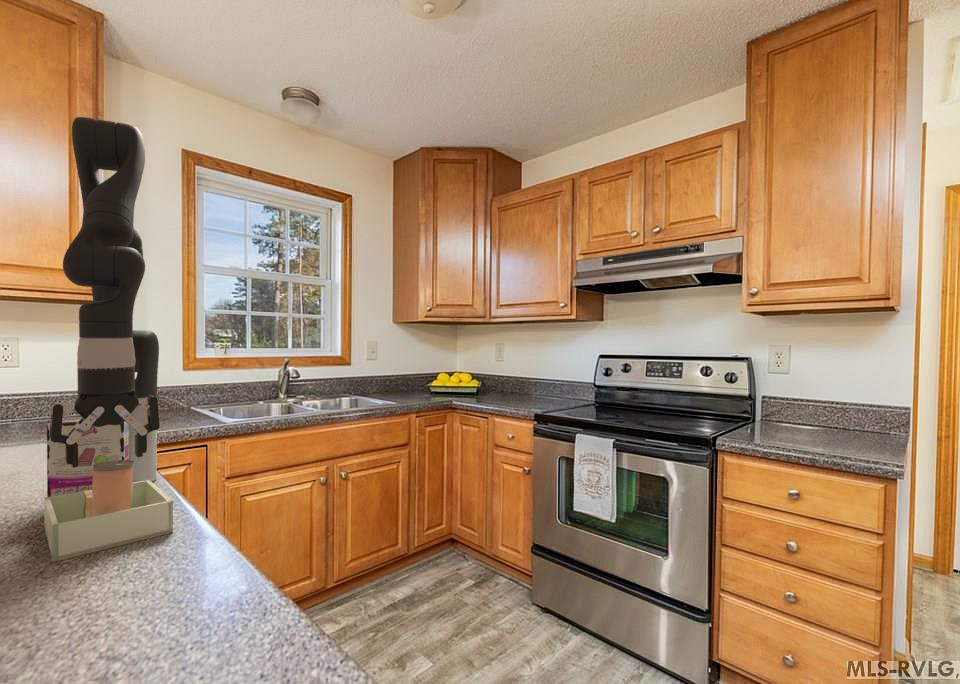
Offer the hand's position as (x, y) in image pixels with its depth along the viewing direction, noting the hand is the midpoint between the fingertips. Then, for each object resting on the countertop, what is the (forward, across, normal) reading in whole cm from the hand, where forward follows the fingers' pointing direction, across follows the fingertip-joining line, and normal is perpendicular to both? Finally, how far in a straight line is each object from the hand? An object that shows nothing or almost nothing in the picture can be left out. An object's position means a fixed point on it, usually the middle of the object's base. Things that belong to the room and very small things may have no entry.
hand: (107, 461), depth 79 cm
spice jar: (+10, +1, +8) cm, 12 cm away
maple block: (+10, 0, +1) cm, 10 cm away
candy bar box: (+11, +1, -12) cm, 16 cm away
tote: (+10, +1, +4) cm, 11 cm away
